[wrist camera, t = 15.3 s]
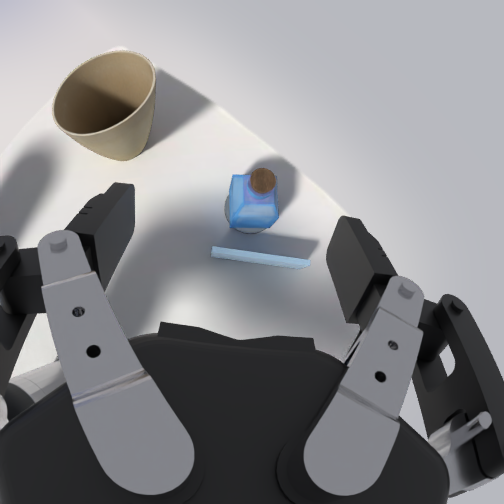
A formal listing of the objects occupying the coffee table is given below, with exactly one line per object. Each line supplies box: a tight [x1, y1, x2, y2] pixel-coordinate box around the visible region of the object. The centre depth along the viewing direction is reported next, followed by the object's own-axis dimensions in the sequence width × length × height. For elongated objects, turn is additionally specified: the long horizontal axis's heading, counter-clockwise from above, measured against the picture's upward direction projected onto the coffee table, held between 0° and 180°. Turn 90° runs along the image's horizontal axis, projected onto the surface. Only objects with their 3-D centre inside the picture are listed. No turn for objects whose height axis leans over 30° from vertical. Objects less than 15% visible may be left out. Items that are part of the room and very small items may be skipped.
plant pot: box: [52, 51, 156, 161], centre depth 38 cm, size 15×15×16 cm
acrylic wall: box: [211, 246, 310, 269], centre depth 44 cm, size 1×14×5 cm, turn 83°
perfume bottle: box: [229, 168, 279, 228], centre depth 41 cm, size 6×6×12 cm
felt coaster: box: [225, 195, 266, 234], centre depth 47 cm, size 8×8×1 cm
